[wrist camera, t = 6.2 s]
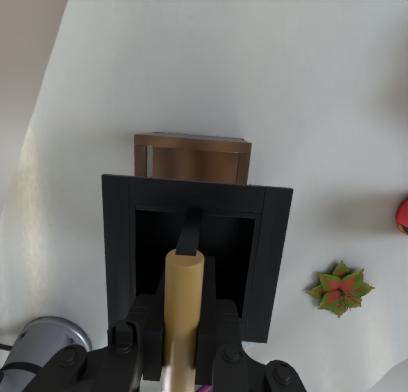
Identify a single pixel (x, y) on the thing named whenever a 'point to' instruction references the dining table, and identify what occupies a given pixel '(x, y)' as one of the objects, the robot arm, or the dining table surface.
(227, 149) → the open wooden box
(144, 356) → the robot arm
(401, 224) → the canned food
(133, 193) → the black boxy container
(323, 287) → the lily flower
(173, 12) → the dining table surface
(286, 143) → the dining table surface
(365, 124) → the dining table surface
